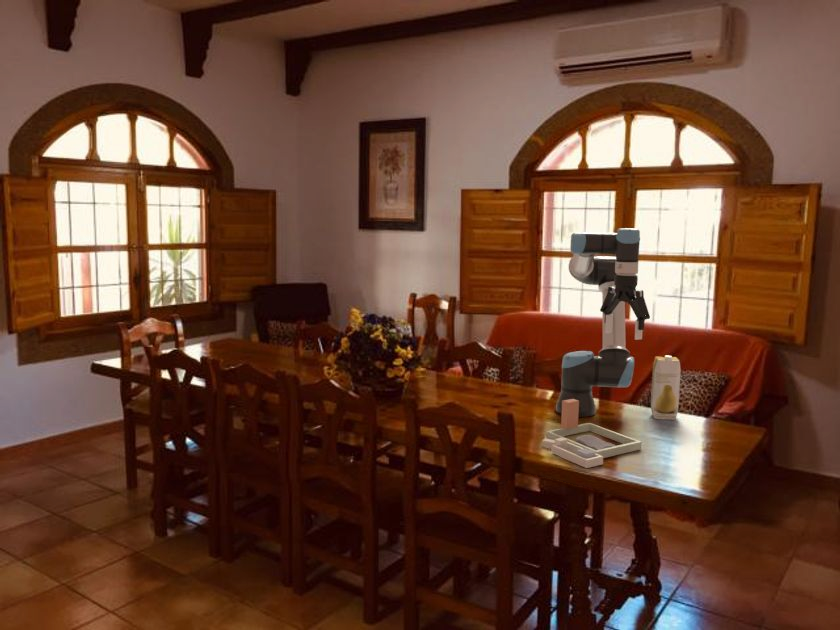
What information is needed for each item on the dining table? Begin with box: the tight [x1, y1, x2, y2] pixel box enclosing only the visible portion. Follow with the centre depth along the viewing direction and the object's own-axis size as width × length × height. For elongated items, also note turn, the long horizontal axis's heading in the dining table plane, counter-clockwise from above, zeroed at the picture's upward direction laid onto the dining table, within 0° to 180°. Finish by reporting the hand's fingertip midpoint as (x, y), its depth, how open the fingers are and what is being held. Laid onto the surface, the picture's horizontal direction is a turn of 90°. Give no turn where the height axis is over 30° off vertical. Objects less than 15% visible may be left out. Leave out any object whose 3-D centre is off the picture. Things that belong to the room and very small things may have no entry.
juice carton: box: [650, 354, 682, 421], centre depth 271 cm, size 9×8×24 cm
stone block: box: [574, 434, 616, 450], centre depth 235 cm, size 12×5×10 cm
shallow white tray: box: [545, 399, 643, 459], centre depth 240 cm, size 25×20×12 cm
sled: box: [550, 438, 604, 469], centre depth 227 cm, size 17×7×4 cm, turn 31°
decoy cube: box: [576, 448, 595, 459], centre depth 223 cm, size 4×4×4 cm
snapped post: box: [541, 437, 555, 449], centre depth 238 cm, size 5×2×2 cm, turn 55°
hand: (623, 336), depth 247 cm, fingers open, 13 cm apart
